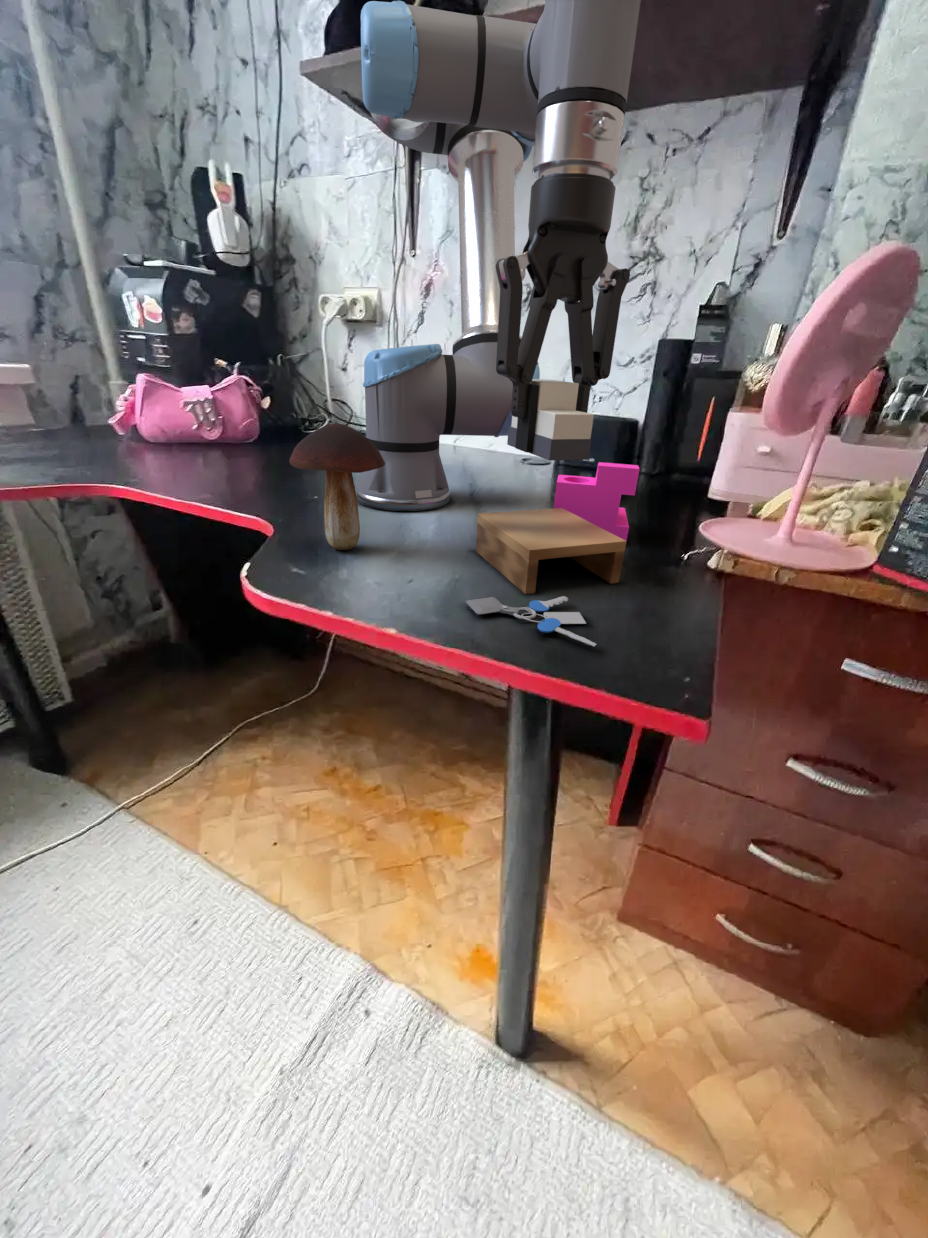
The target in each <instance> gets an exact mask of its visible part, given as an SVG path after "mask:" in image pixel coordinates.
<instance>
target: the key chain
mask: <svg viewBox="0 0 928 1238" xmlns="http://www.w3.org/2000/svg"><path fill="white" fill-rule="evenodd" d="M568 601H569V598H568V597H567V596H565V595H562V596H558V597H555V598H552V599H549V600H548V599H547V600H545V601H544V600H539V599H533V600H531V601H530V602H529V603H528V606H525V607H524V606H523V607H522V606H521V607H516V606H509V605H506V604H503V603H501V601H500V600H498V599H497V598H496V597H494V596H489V597H482V598H475V599H467V600H465V604H467V606H469V608H470V609H472V611H473V612H474V613H475V614H476V615H480V616H481V615H488V614H495V613H499V614H507V615H510V616H512V617H515V618H516V619H519V620H522V621H523V620H524V621H529V622H532V623H536V624H537V630H538V631H539V632H540V633H544V634H545V633H546V634H550V633H554V632H556V633H559V634H561V635H563V636H566V637H568V638H570V639H572V640H575V641H578V642H580V643H583V644H585V645H588V646H590V647H594V648H595V647H596V646H597V642H594V641H592V640H590V639H587V638H586V637H583V636H580V635H578V634H576V633H574V632H572V631H570V630H567V629H564V628H562V627H561V626H562V625H587V622H586V620H585V619H584V617H583V616H582V614H581V612H580V611H550V608H552V607H554V606H560V605H561V604H563V603H564V602H565V603H567V602H568ZM520 612H524V613H521V615H520V614H519V613H520ZM540 613H543V614H540ZM526 615H527V616H526ZM536 616H538V617H542V618H544V619H542V620H534V618H536Z"/></svg>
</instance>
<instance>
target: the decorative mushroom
mask: <svg viewBox="0 0 928 1238" xmlns="http://www.w3.org/2000/svg"><path fill="white" fill-rule="evenodd" d="M288 462H289V464H290V465H291V466H292V467H293V468H296V469H300V470H316V471H325V490H324V505H323V506H324V507H323V508H324V510H323V511H324V514H323V515H324V516H323V517H324V532H325V538H326V541H327V543H328V545H329V546H330V547H332V548H333V549H335V550H339V551H349V550H350V549H352V548H354V547H356V546H357V545H358V543H359V540H360V535H361V525H360V513H359V504H358V503H359V502H358V500H357V490H356V487H355V483H354V477H353V474H361V472H366V471H370V470H374V469H378V468H381V467H383V466H385V462H384V459H383V458H382V456H381V454H380V452H379V451H378V449H377V448H376V447H375V445H374V444H373V443H372V442H371V441H370V440H369V439H367V438H366V435H364V434H363V433H362V432H360V431H359V430H356V429H354V428H353V427H351V426H348V425H346V424H343V423H337V422H336V423H335V422H334V423H329V424H326V425H324V426H322V427H319V428H317V429H315V430H314V431H312V432H311V433H310V434H308V435H307V436H305V437H304V438H303V439H301V441H299V442H298V443H297V444H296V446H295V447H294V448H293V451H292V453H291V455H290V458H289V459H288Z"/></svg>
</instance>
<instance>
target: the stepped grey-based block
mask: <svg viewBox="0 0 928 1238" xmlns="http://www.w3.org/2000/svg"><path fill="white" fill-rule="evenodd" d="M530 384H534V385H539V392H538V403H537V414H536V424H535V435H534V443H533V452H527V453H529V454H531V455H534V456H536V457H539V458H542V459H544V460H547V461H549V462H550V461H589V459H590V453H591V445H592V430H593V424H594V418H595V414H594V413H590V412H587V413H585V412H580V411H576V403H577V395H578V387H579V383H574V382H573V381H564V380H556V379H546V378H545V379H543V378H540V379H532V381H531V382H530ZM517 420H518V417H514V416H512V424H511V426H509V428H508V436H507V441H506V445H507V446H511V447H513V448H515V445H516V433H517Z"/></svg>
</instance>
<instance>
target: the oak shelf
mask: <svg viewBox="0 0 928 1238" xmlns="http://www.w3.org/2000/svg"><path fill="white" fill-rule="evenodd" d="M476 521H477V523H476V539H475V540H476V541H475V552H476V553H477V554H478V555H479V556H480V557H482V558H483V559H484V560H485V561H486V562H487V563H488V564H489V565H491V566H492V567H493V568H494V569H495V570H496V571H498V572H499V573H500V574H501V575H502V576H504V577H505V578H506V579H507V580H508V581H509V582H510V583H512V584H513V585H514V586H515V587H516V588H518V589H519V590H520V591H521V592H522V593H523V594H525V595H530V594H531V595H532V594H535V593H536V589H537V587H536V586H537V579H538V569H539V568H538V567H539V560H541V561H542V560H549V559H560V558H570V559H571V560H573V561H574V562H576V563H577V564H579V565H580V566H582V567H584V568H585V569H587V570H588V571H590V572H592V573H593V574H595V575H596V576H598V577H599V578H600V579H602V580H603V581H606V582H607V583H608V584H612V585H613V584H619V583H620V579H621V573H622V568H623V564H624V563H623V562H624V556H625V551H626V545H627V541H626V540H624V539H622V538H620V537H618V536H616V535H614V534H612V533H610V532H608V531H606V530H604V529H602V528H600V527H598V526H596V525H594V524H592V523H590V522H588V521H587V520H585V519H583V518H581V517H579V516H577V515H575V514H573V513H571V512H569V511H567V510H565V509H563V508H554V507H553V508H540V509H539V508H538V509H525V510H522V509H521V510H510V511H507V510H506V511H495V512H494V511H493V512H492V511H491V512H477V520H476Z"/></svg>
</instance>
